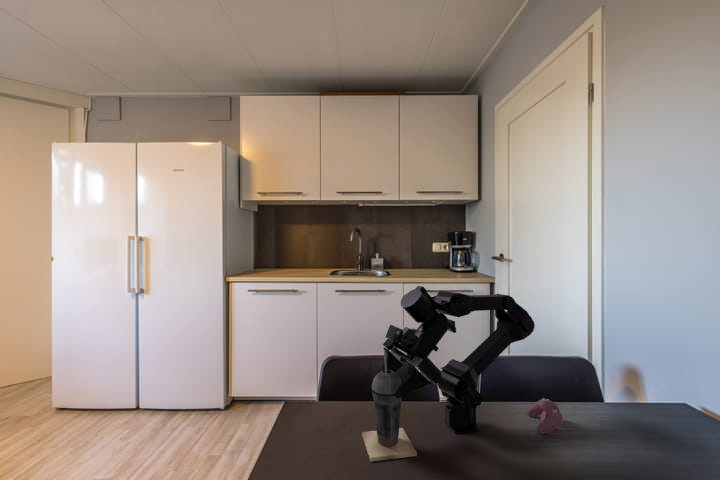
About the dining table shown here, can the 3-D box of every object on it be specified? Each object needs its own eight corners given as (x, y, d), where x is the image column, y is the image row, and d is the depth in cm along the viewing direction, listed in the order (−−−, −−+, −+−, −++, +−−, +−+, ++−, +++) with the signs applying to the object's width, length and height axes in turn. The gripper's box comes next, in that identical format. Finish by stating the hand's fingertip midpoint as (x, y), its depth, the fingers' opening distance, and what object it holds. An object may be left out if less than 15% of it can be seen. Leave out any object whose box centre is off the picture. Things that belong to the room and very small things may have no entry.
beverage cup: (408, 436, 77) (407, 348, 78) (398, 453, 71) (396, 357, 71) (378, 429, 81) (378, 345, 81) (366, 445, 74) (365, 353, 75)
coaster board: (402, 431, 81) (402, 427, 81) (416, 455, 71) (416, 452, 71) (361, 435, 79) (361, 432, 79) (370, 461, 70) (370, 457, 70)
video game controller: (555, 443, 78) (570, 417, 78) (536, 432, 79) (550, 406, 79) (541, 421, 88) (553, 398, 88) (524, 412, 89) (536, 389, 89)
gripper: (389, 306, 87) (349, 354, 83) (427, 320, 69) (379, 382, 65) (416, 334, 89) (379, 382, 85) (460, 354, 72) (416, 416, 68)
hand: (386, 388), depth 76 cm, fingers open, 9 cm apart
